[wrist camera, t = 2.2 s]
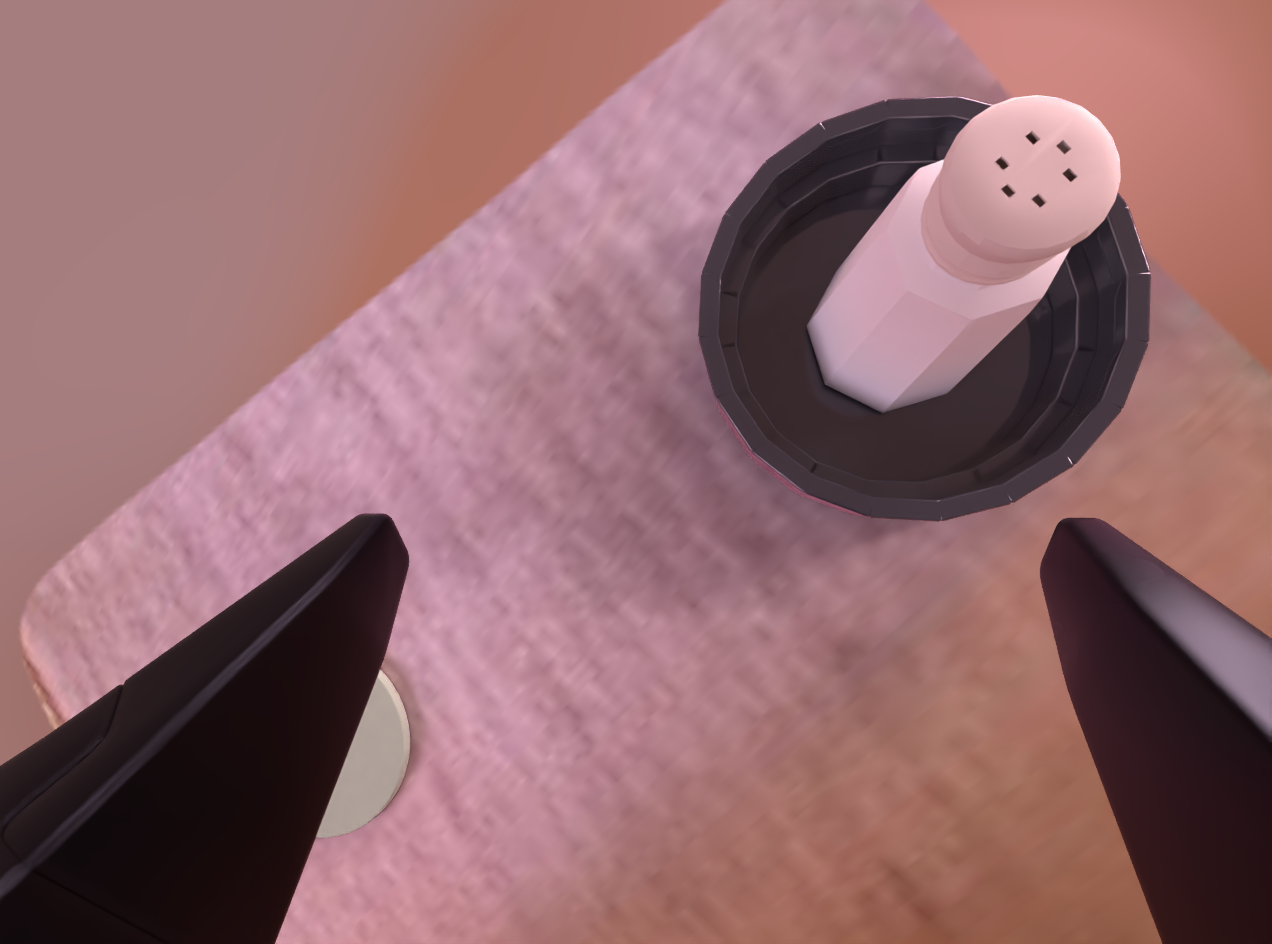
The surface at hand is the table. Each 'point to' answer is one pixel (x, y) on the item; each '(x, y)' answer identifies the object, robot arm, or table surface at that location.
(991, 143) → the pepper shaker
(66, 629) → the table surface
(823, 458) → the pan
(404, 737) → the coaster
